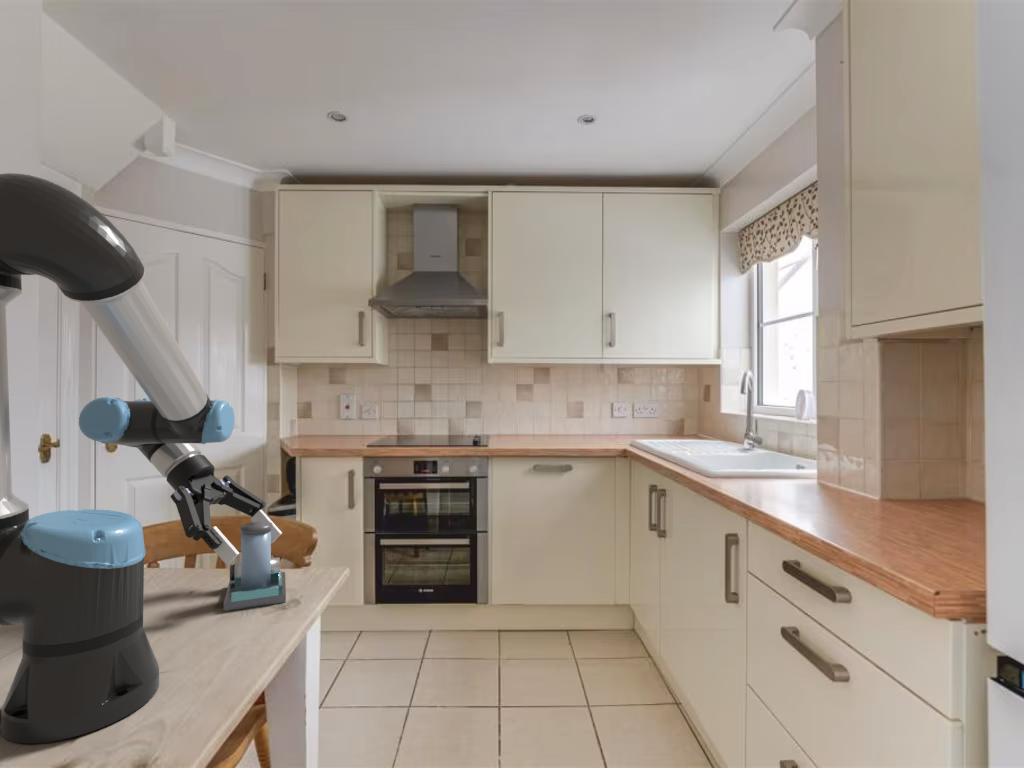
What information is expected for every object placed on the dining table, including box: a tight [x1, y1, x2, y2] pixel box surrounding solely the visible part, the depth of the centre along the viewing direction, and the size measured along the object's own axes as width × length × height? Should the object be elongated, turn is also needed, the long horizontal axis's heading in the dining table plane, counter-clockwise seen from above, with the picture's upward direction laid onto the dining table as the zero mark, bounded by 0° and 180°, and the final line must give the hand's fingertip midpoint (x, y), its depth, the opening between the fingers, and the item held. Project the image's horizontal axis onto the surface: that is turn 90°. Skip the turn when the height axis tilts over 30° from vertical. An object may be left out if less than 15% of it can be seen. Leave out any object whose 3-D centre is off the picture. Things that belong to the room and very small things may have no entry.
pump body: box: [239, 522, 272, 591], centre depth 98 cm, size 5×5×12 cm
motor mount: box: [223, 557, 287, 612], centre depth 100 cm, size 13×10×5 cm
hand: (256, 548), depth 99 cm, fingers open, 13 cm apart
